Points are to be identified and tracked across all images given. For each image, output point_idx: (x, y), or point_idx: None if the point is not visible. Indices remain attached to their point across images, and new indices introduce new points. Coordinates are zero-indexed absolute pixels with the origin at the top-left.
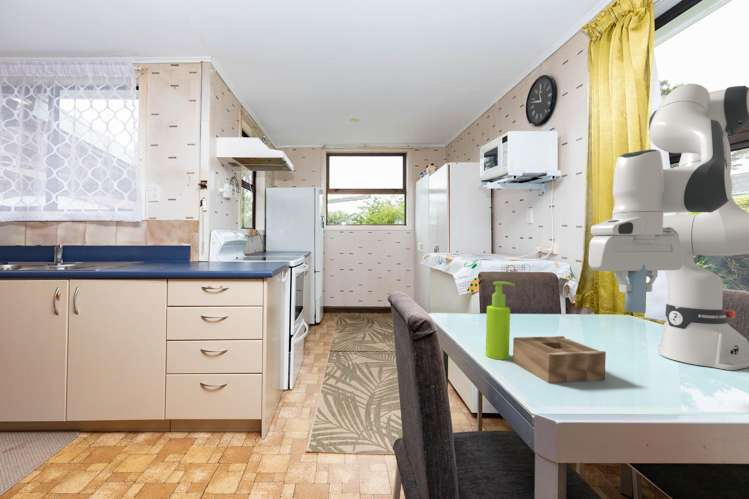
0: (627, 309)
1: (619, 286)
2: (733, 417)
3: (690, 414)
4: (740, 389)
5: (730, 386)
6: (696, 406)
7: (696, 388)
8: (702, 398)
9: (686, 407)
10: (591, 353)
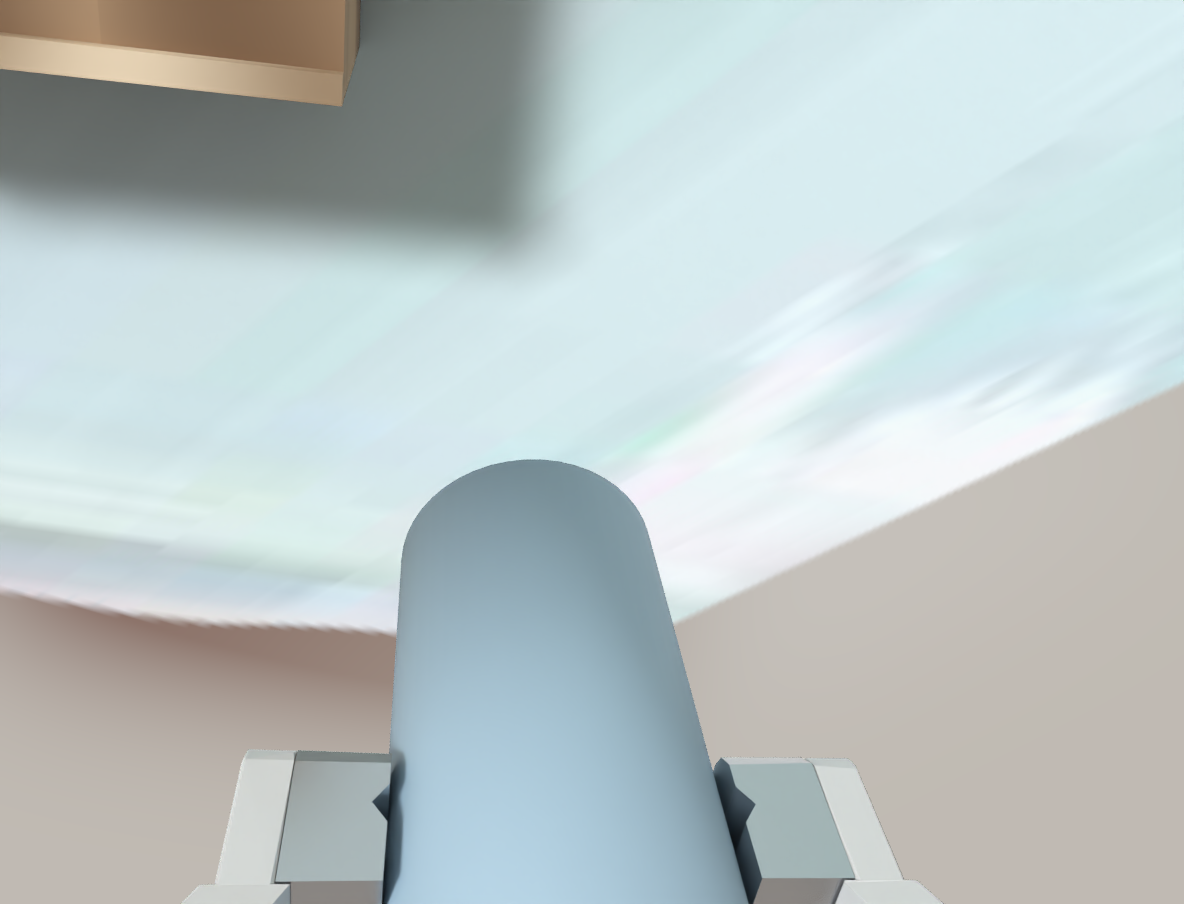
0: (403, 569)
1: (232, 827)
2: None
3: None
4: (1123, 403)
5: (1136, 357)
6: None
7: (883, 337)
8: (723, 455)
9: None
10: (152, 83)
